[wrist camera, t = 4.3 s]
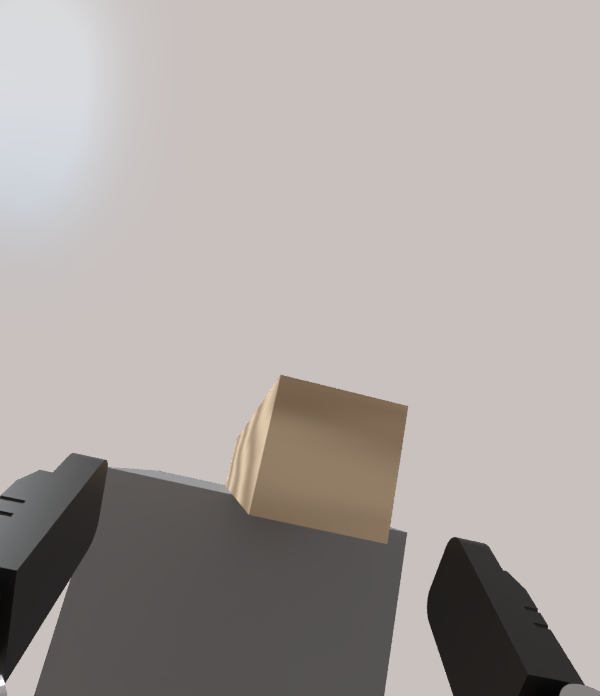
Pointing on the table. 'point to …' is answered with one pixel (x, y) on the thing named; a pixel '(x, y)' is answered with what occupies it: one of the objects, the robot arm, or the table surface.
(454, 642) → the robot arm
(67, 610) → the charcoal pedestal
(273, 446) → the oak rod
